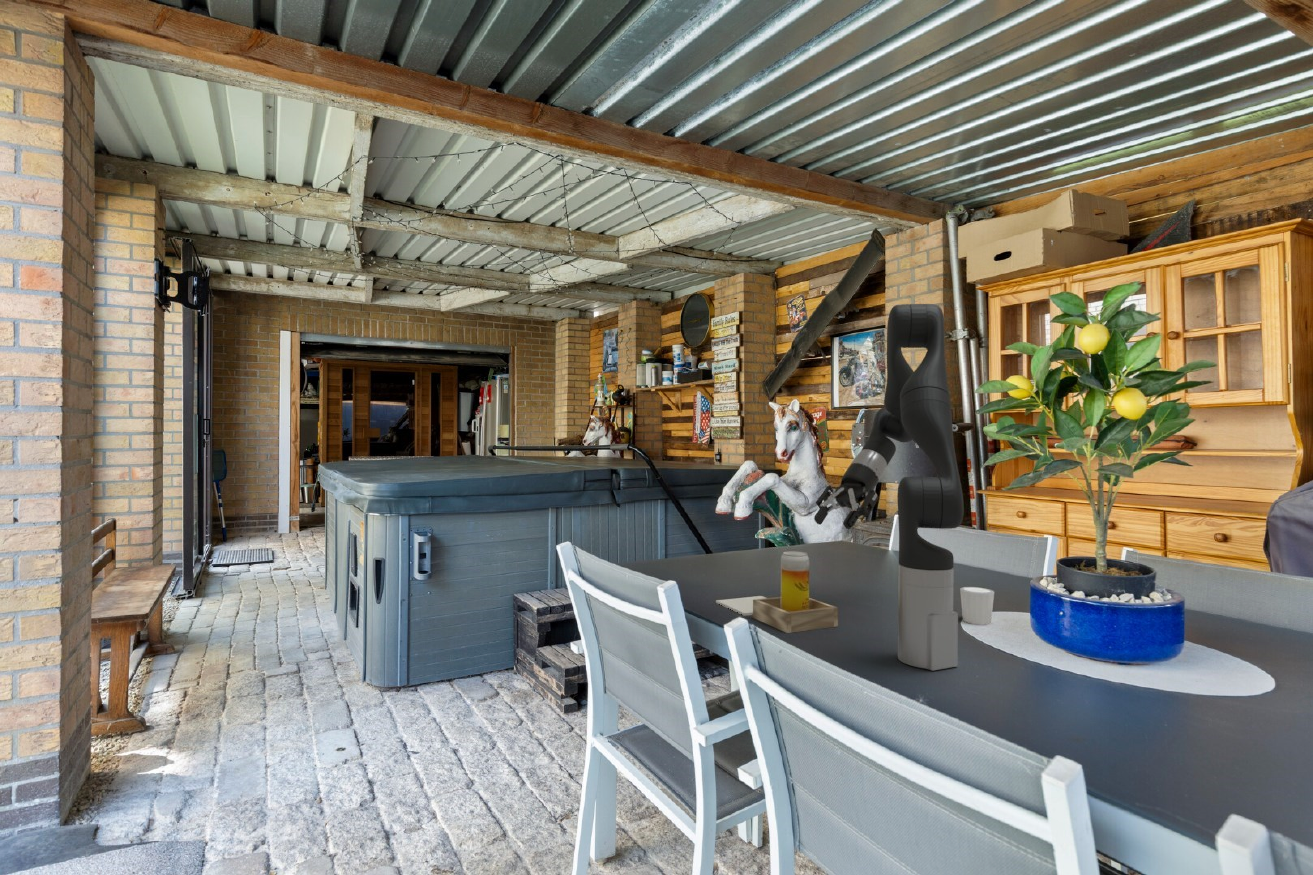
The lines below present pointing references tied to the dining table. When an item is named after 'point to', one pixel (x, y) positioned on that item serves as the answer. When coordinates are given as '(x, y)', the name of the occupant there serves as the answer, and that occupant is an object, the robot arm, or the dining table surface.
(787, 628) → the crate
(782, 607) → the beer can
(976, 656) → the dining table surface
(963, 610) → the white cup
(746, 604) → the mat
